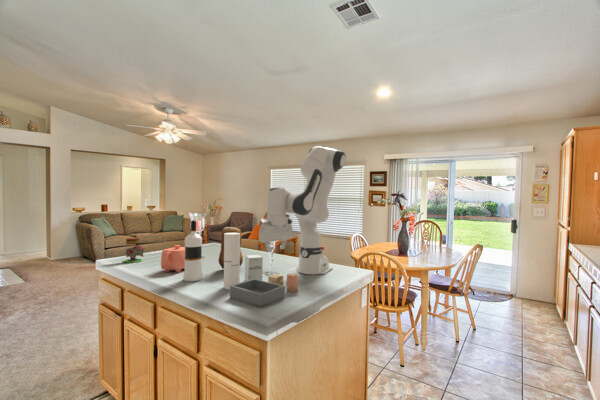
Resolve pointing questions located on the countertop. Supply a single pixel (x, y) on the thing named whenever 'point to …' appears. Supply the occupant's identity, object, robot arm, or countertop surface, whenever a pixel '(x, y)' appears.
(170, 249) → the teapot
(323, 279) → the countertop surface
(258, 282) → the tote
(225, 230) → the butternut squash
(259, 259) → the supplement box
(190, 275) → the vodka
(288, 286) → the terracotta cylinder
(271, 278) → the oak cube
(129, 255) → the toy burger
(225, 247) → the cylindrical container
